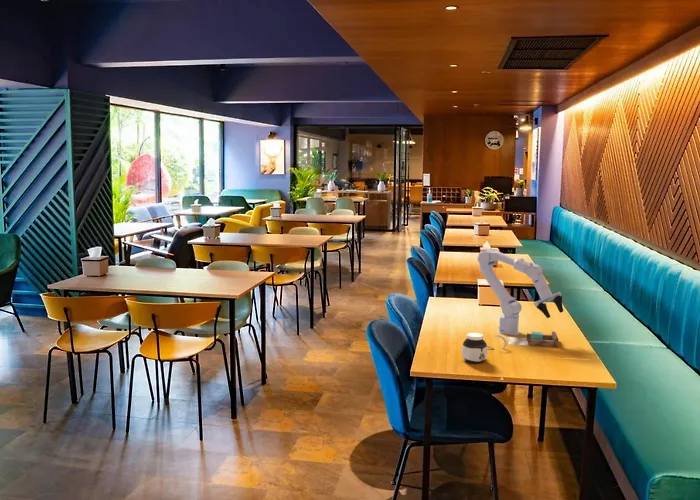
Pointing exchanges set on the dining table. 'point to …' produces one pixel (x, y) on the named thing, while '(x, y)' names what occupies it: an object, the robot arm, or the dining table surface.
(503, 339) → the hook
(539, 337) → the teal block
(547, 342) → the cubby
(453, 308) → the dining table surface
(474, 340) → the spread jar
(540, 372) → the dining table surface
